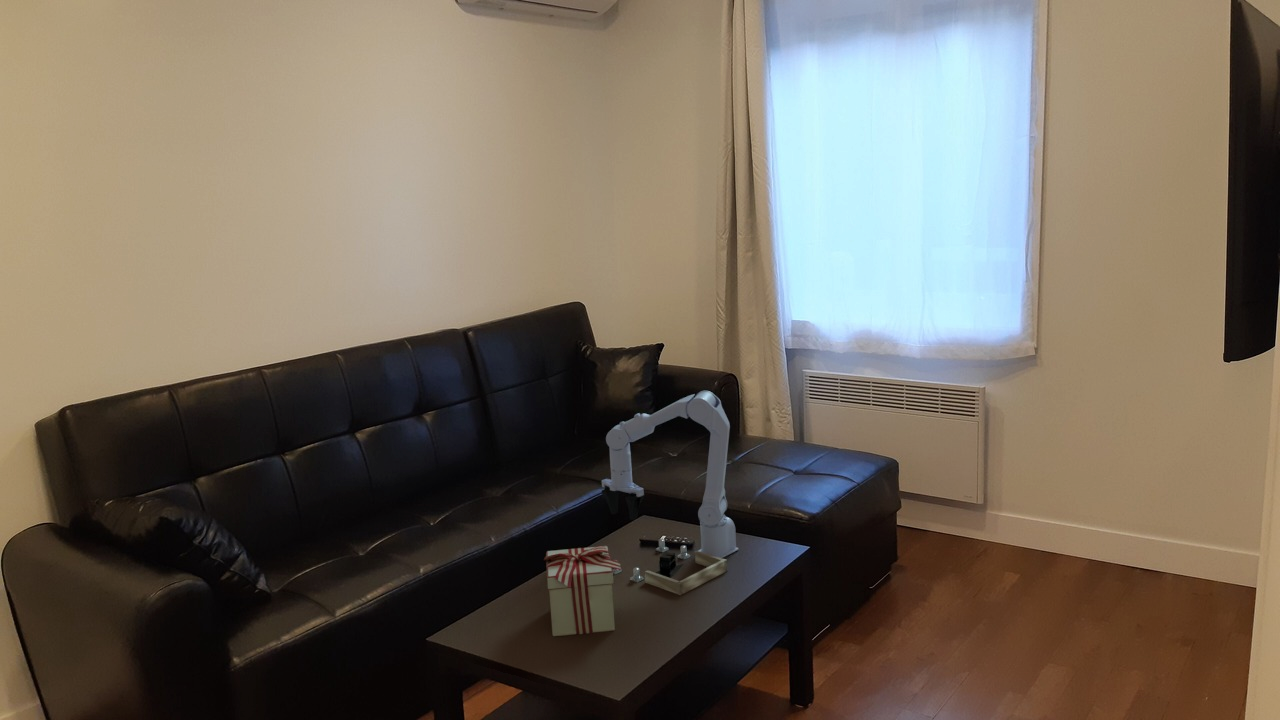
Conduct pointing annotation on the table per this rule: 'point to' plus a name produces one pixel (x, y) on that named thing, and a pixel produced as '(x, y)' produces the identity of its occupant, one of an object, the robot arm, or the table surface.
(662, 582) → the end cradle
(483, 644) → the table surface
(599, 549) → the gift box
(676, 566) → the black boxy piece
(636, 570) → the guide pins
